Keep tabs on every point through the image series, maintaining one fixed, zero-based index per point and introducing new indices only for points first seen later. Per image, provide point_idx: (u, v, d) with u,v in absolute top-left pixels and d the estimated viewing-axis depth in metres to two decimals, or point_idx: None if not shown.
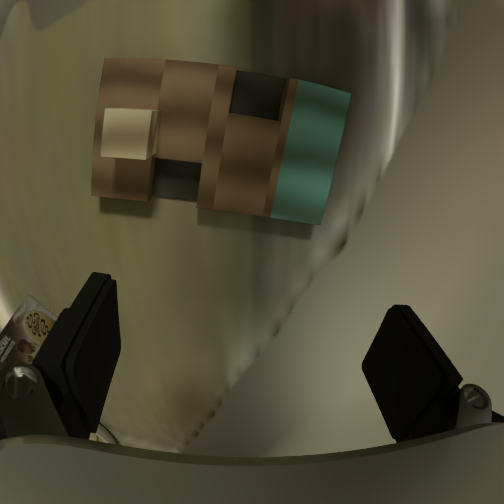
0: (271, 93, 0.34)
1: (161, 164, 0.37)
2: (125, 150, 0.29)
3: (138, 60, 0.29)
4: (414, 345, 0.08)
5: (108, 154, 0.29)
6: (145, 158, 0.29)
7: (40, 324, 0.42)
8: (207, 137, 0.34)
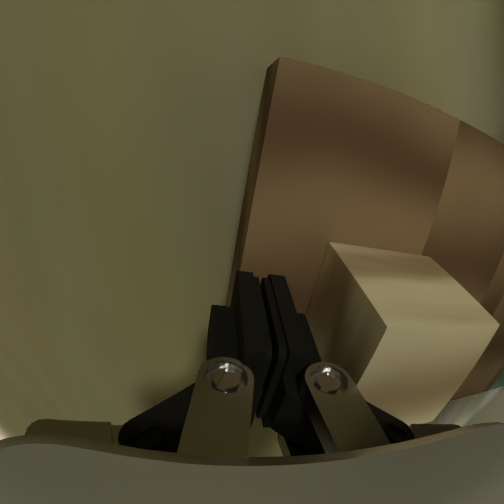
0: None
1: None
2: (399, 418, 0.09)
3: (396, 98, 0.09)
4: (270, 314, 0.09)
5: None
6: (432, 418, 0.10)
7: None
8: None
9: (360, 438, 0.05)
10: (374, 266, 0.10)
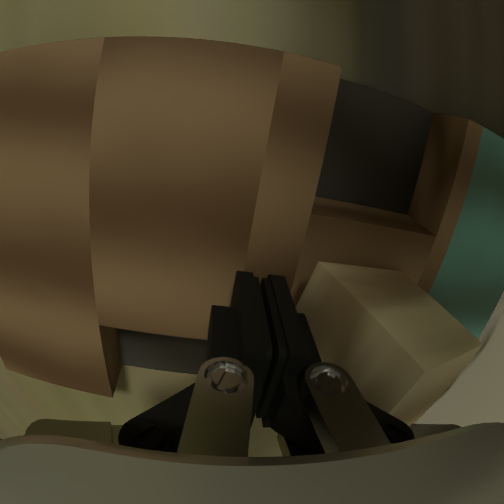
0: (402, 145, 0.13)
1: None
2: None
3: (29, 51, 0.07)
4: (270, 314, 0.09)
5: None
6: None
7: None
8: None
9: (360, 438, 0.05)
10: (373, 292, 0.09)
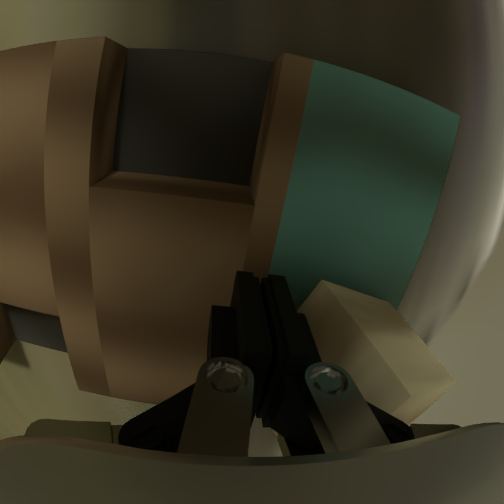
0: (230, 106, 0.12)
1: None
2: None
3: None
4: (270, 314, 0.09)
5: None
6: None
7: None
8: (52, 259, 0.11)
9: (360, 438, 0.05)
10: (367, 317, 0.10)
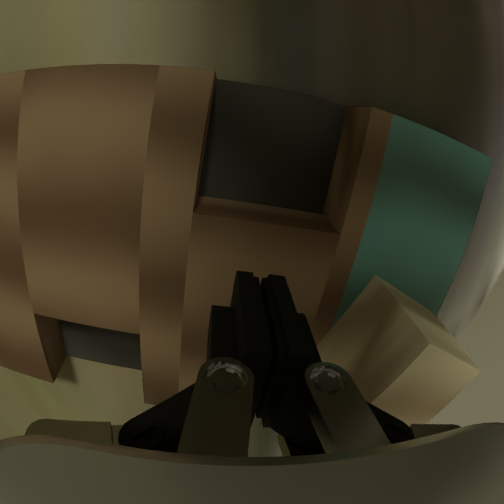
0: (310, 143, 0.14)
1: None
2: None
3: None
4: (270, 314, 0.09)
5: None
6: None
7: None
8: (142, 280, 0.13)
9: (360, 438, 0.05)
10: (406, 303, 0.13)
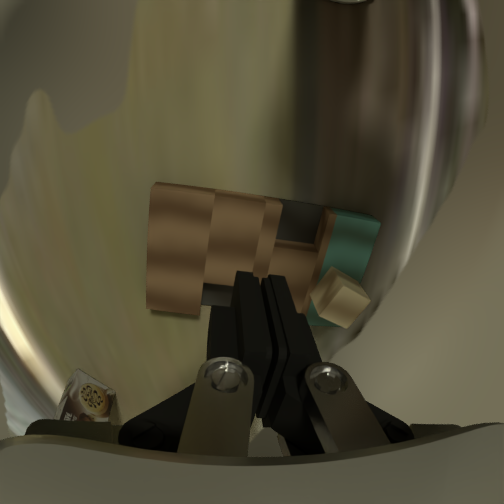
0: (310, 220, 0.41)
1: None
2: (338, 319, 0.39)
3: (187, 194, 0.35)
4: (270, 314, 0.09)
5: (325, 317, 0.39)
6: (347, 327, 0.40)
7: (94, 395, 0.49)
8: (254, 267, 0.40)
9: (360, 438, 0.05)
10: (342, 275, 0.40)
